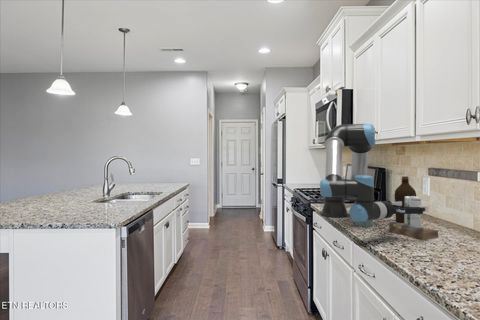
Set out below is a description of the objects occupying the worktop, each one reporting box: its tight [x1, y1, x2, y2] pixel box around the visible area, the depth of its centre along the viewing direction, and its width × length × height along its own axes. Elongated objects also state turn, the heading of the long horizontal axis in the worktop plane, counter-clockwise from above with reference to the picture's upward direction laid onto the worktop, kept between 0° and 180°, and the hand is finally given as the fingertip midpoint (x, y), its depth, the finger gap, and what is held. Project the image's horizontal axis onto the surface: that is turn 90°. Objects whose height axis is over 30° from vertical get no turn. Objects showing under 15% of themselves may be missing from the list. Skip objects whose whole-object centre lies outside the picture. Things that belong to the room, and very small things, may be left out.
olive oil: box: [394, 175, 417, 224], centre depth 180 cm, size 11×11×25 cm
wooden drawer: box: [388, 220, 439, 241], centre depth 155 cm, size 18×10×5 cm, turn 25°
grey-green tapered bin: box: [353, 201, 374, 228], centre depth 175 cm, size 10×10×12 cm
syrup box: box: [404, 196, 422, 228], centre depth 155 cm, size 6×6×14 cm
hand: (413, 206), depth 155 cm, fingers open, 13 cm apart
